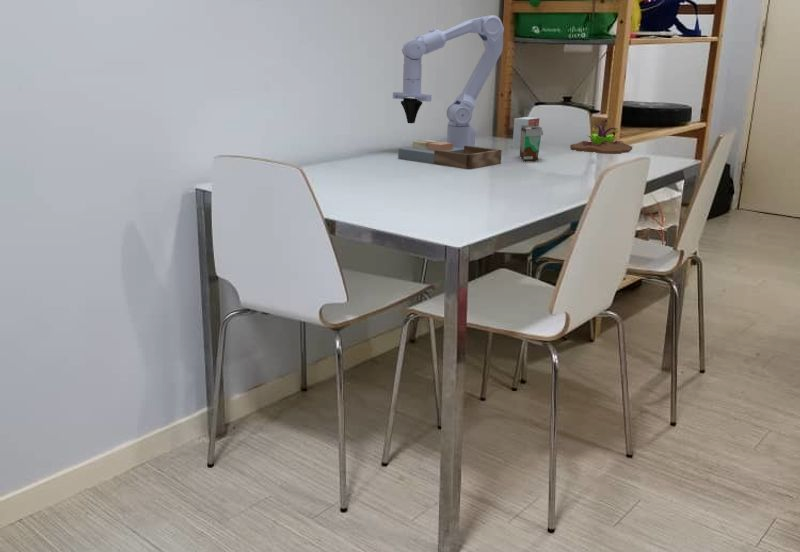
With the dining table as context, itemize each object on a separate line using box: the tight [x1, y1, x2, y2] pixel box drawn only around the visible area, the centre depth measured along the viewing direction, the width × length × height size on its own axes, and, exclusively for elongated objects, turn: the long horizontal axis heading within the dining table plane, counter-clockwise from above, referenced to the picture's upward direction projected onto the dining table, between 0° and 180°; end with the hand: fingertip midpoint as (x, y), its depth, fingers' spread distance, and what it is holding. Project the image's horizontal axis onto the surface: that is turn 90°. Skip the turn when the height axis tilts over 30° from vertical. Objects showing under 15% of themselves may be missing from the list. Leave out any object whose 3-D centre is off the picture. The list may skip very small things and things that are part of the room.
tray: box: [433, 146, 502, 170], centre depth 236 cm, size 16×13×4 cm
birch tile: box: [412, 139, 439, 149], centre depth 246 cm, size 6×5×2 cm
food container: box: [519, 125, 544, 163], centre depth 246 cm, size 12×6×10 cm, turn 179°
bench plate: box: [397, 146, 464, 165], centre depth 245 cm, size 16×14×3 cm
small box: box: [512, 116, 540, 149], centre depth 270 cm, size 8×6×10 cm
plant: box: [569, 118, 633, 155], centre depth 268 cm, size 20×20×11 cm
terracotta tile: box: [428, 141, 453, 151], centre depth 242 cm, size 6×5×2 cm
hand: (411, 123), depth 254 cm, fingers closed
